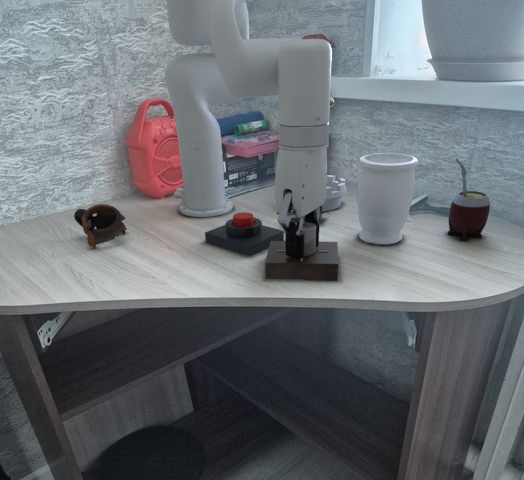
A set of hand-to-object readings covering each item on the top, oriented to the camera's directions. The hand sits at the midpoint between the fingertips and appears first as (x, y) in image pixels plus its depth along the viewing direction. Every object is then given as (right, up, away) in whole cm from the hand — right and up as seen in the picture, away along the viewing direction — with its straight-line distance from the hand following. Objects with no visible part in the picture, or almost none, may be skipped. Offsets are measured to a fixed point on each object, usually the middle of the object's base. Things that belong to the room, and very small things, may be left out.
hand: (302, 249), depth 82 cm
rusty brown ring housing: (-40, +5, +17) cm, 44 cm away
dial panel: (0, -3, +2) cm, 3 cm away
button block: (-10, +4, +13) cm, 17 cm away
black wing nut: (+3, +10, +22) cm, 24 cm away
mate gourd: (+33, +5, +12) cm, 35 cm away
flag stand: (+6, +18, +33) cm, 38 cm away
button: (-11, +7, +11) cm, 17 cm away
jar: (+17, +5, +13) cm, 22 cm away
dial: (0, 0, 0) cm, 0 cm away
